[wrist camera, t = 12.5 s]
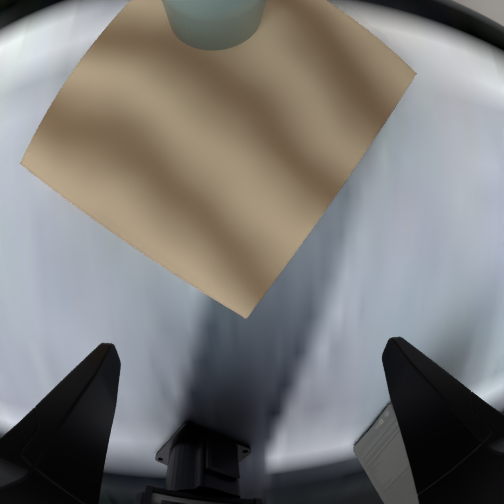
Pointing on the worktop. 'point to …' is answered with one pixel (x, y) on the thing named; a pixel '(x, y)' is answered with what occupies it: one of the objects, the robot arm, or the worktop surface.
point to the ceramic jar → (214, 21)
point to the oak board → (218, 138)
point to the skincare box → (387, 460)
